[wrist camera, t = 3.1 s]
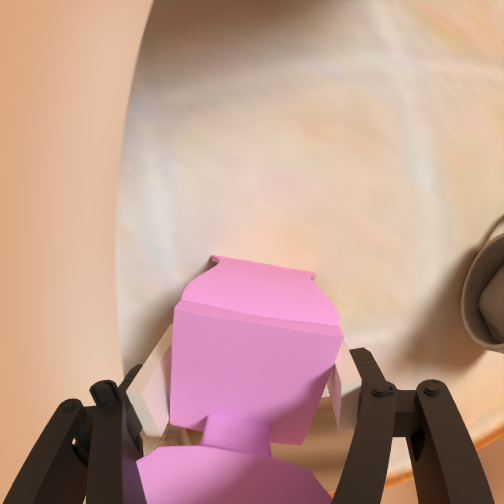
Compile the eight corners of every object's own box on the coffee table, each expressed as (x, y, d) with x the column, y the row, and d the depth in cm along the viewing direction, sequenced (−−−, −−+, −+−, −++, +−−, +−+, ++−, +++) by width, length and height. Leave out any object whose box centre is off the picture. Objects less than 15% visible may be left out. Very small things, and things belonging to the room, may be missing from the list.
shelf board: (175, 405, 21) (162, 438, 17) (382, 387, 19) (398, 419, 16) (208, 483, 23) (202, 511, 19) (366, 470, 22) (373, 498, 18)
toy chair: (334, 267, 17) (473, 481, 3) (300, 384, 19) (321, 587, 5) (196, 243, 18) (7, 418, 3) (184, 364, 20) (102, 554, 5)
